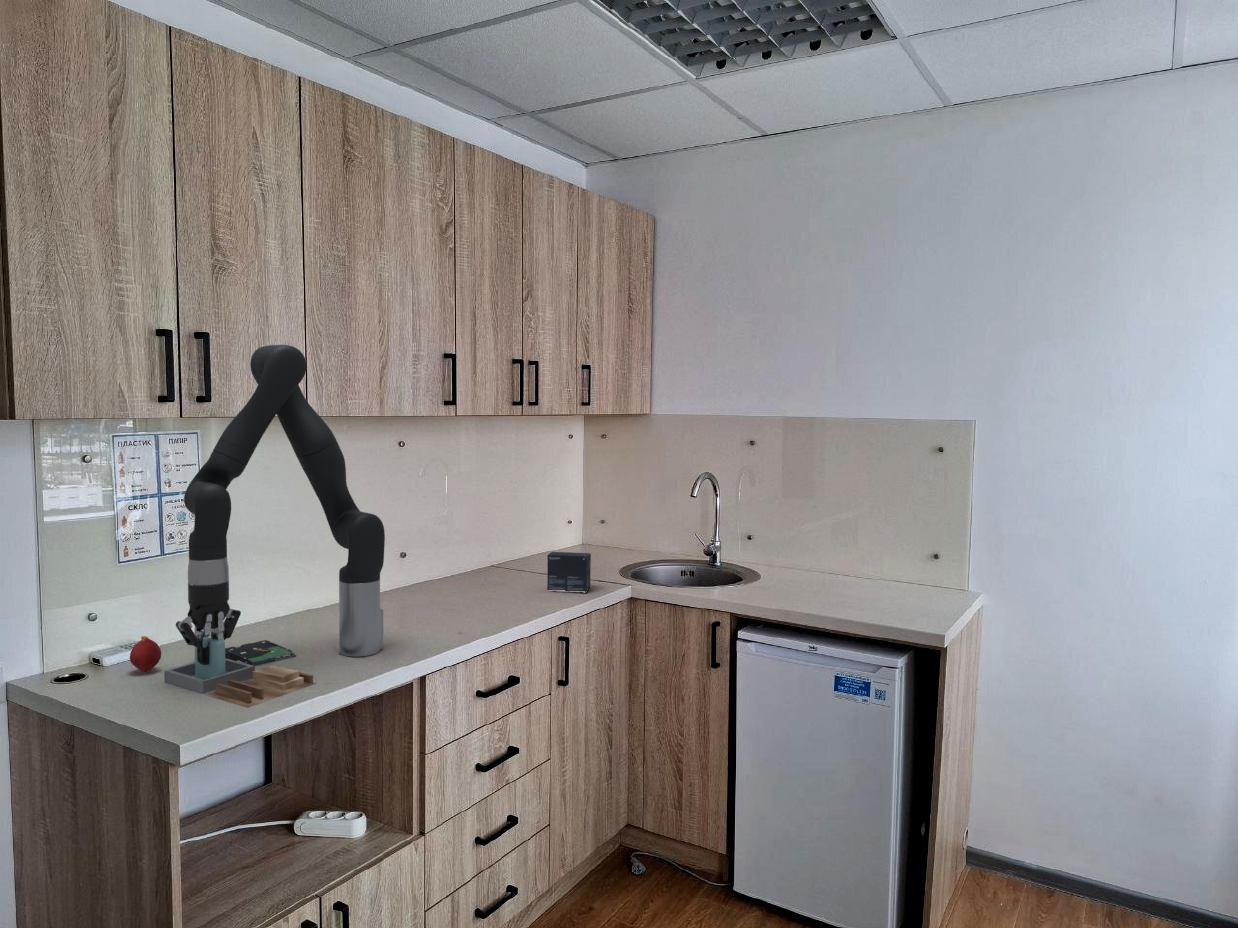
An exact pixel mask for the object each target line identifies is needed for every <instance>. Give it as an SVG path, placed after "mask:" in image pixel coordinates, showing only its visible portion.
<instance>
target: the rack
mask: <svg viewBox="0 0 1238 928" xmlns="http://www.w3.org/2000/svg"><path fill="white" fill-rule="evenodd" d="M276 667H279V666H278V665H277V666H276ZM299 677H303V678H304V684H301V685H299V686H296V687H293V688H290V689H287V690H284V691H282V690H278V689H275V688H271V687H267V686H264V685H260V684H257V683H254V678H252V679H248V680H245V681H242V682H238V681H234V680H231V679H230V680H228V686H227V685H223V684H220V683H217V684H216V690H214V691H211V692H207V693H204V696H208V697H210V698H214V699H217V700H221V701H224V702H227V703H230V704H233V705H236V706H237V705H238V706H241V707H244V708H247V709H248V708H251V707H254V706H256V705H259V704H262V703H265V702H268V701H271V700H274V699H276V698H280V697H283V696H286V695H288V694H291V693H293V692H296V691H299V690H302V689H305V688H308V687H312V686H314V685H316V684H317V682H314V675H313V674H309V673H306V672H305V673H304V672H301V671H299Z"/></svg>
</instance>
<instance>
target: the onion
mask: <svg viewBox="0 0 1238 928" xmlns="http://www.w3.org/2000/svg"><path fill="white" fill-rule="evenodd" d="M140 638H141V640H139V641H137V642H136V643H135V644H134V645H133V647H132V648H131V650H130V653H129V654H130V655H129V661H130V663H131V664H132V666H134V667H135V668H136V669H138V670H140V671H141V672H143V673H148V672H149V671H151V670H153V669H154V668H155V667H156V666H157V665H158V663H159V662H160V660H161V658H162V648H161V647H160V646H159V644H157V642H155V641H154V640H152V639H150V638H149V637H148V636H147V635H142V636H141V637H140Z"/></svg>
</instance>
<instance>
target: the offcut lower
mask: <svg viewBox="0 0 1238 928" xmlns="http://www.w3.org/2000/svg"><path fill="white" fill-rule="evenodd" d="M253 679H254V683H257V684H260V685H264V686H267V687H271V688H275V689H278V690H282V691H284V690H287V689H290V688H293V687H296V686H299V685H301V684H304V678H303V677H297V678H295V679H292V680H290V681H287V682H284V683H279V682H274V681H269V680H264V679H259V678H253Z"/></svg>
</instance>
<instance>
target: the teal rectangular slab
mask: <svg viewBox="0 0 1238 928" xmlns="http://www.w3.org/2000/svg"><path fill="white" fill-rule="evenodd" d="M207 647H209V664H207V665H202V664H200V663H199V662H198V660H197V647H195V646H194V662H195V675H194V677H196V678H200V679H203V680H205V679H209V678H212V677H215V676H218V675H222V674H225V673H226V672H225V648H226V641H219V640H215V639H211V637H208V646H207Z"/></svg>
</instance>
